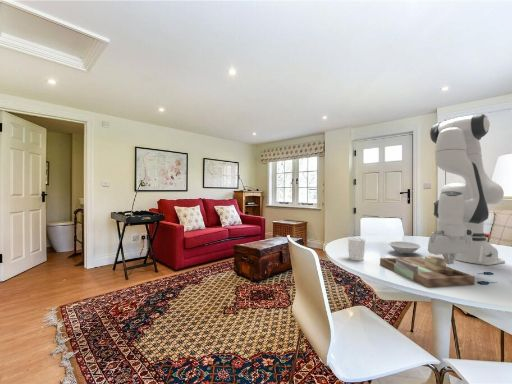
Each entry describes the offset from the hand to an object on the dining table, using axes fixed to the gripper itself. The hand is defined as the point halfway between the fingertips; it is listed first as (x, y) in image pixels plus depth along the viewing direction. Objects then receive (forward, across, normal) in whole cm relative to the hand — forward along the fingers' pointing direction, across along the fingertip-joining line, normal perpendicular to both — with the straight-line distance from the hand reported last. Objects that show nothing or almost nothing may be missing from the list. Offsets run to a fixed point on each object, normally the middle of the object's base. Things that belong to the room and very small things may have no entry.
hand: (449, 263), depth 103 cm
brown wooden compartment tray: (+4, -10, +3) cm, 12 cm away
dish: (+5, +9, +30) cm, 32 cm away
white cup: (+5, -24, +28) cm, 37 cm away
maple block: (+1, -7, +1) cm, 7 cm away
